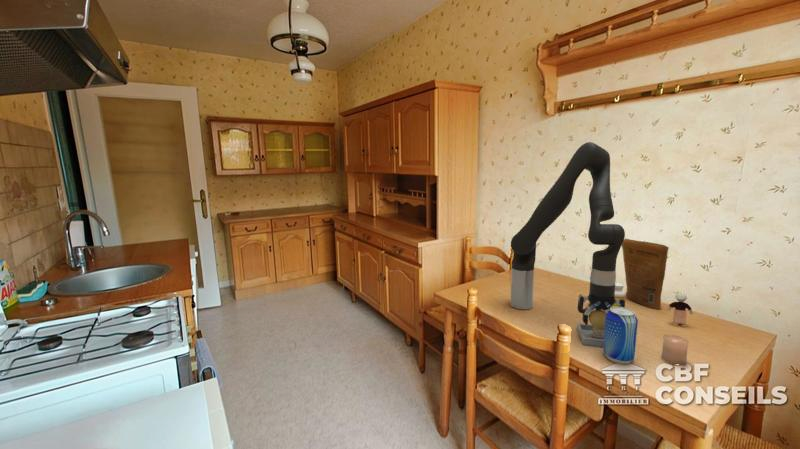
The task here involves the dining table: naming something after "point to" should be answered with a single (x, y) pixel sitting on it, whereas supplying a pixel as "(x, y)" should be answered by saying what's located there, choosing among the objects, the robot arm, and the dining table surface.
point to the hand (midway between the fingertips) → (599, 325)
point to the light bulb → (598, 323)
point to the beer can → (620, 335)
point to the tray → (588, 335)
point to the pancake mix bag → (644, 271)
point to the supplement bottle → (618, 294)
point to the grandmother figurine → (680, 310)
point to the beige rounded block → (674, 349)
